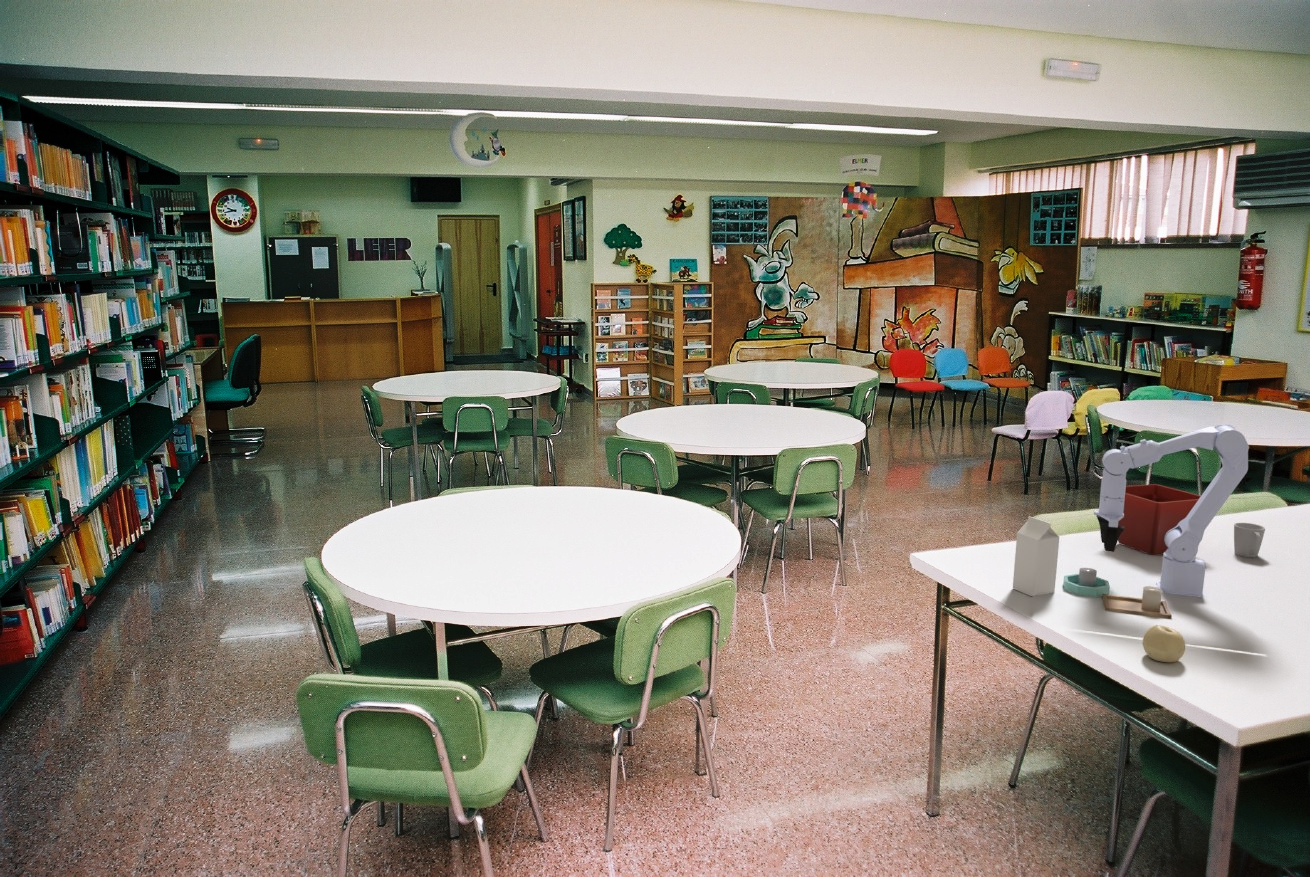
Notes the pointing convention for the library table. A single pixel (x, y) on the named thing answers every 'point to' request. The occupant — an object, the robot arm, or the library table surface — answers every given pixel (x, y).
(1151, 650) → the apple
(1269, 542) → the library table surface
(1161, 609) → the tray
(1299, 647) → the library table surface
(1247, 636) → the library table surface
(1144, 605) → the pebble light
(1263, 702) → the library table surface
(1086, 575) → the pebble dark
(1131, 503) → the plant pot
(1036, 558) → the milk carton
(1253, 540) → the cup
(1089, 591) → the dish
